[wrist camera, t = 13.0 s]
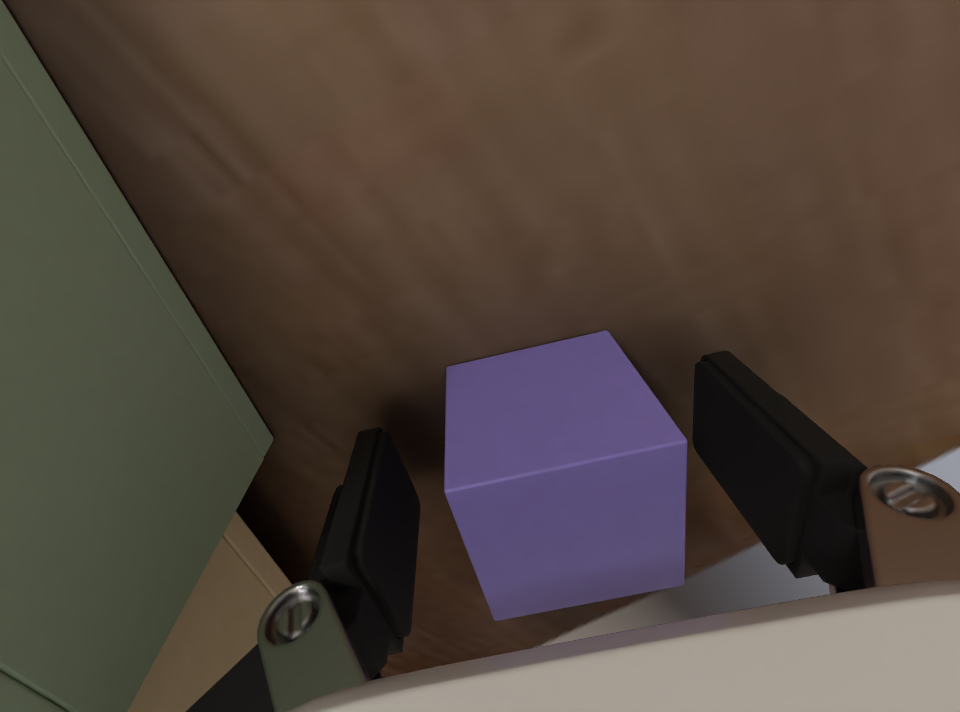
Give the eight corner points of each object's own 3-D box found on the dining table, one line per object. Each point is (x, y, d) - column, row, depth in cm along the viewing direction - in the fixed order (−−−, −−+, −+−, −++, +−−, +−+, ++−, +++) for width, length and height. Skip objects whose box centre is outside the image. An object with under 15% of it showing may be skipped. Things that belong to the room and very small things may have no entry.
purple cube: (618, 451, 13) (685, 585, 10) (481, 480, 14) (493, 622, 10) (607, 328, 11) (689, 440, 7) (445, 366, 11) (443, 492, 8)
